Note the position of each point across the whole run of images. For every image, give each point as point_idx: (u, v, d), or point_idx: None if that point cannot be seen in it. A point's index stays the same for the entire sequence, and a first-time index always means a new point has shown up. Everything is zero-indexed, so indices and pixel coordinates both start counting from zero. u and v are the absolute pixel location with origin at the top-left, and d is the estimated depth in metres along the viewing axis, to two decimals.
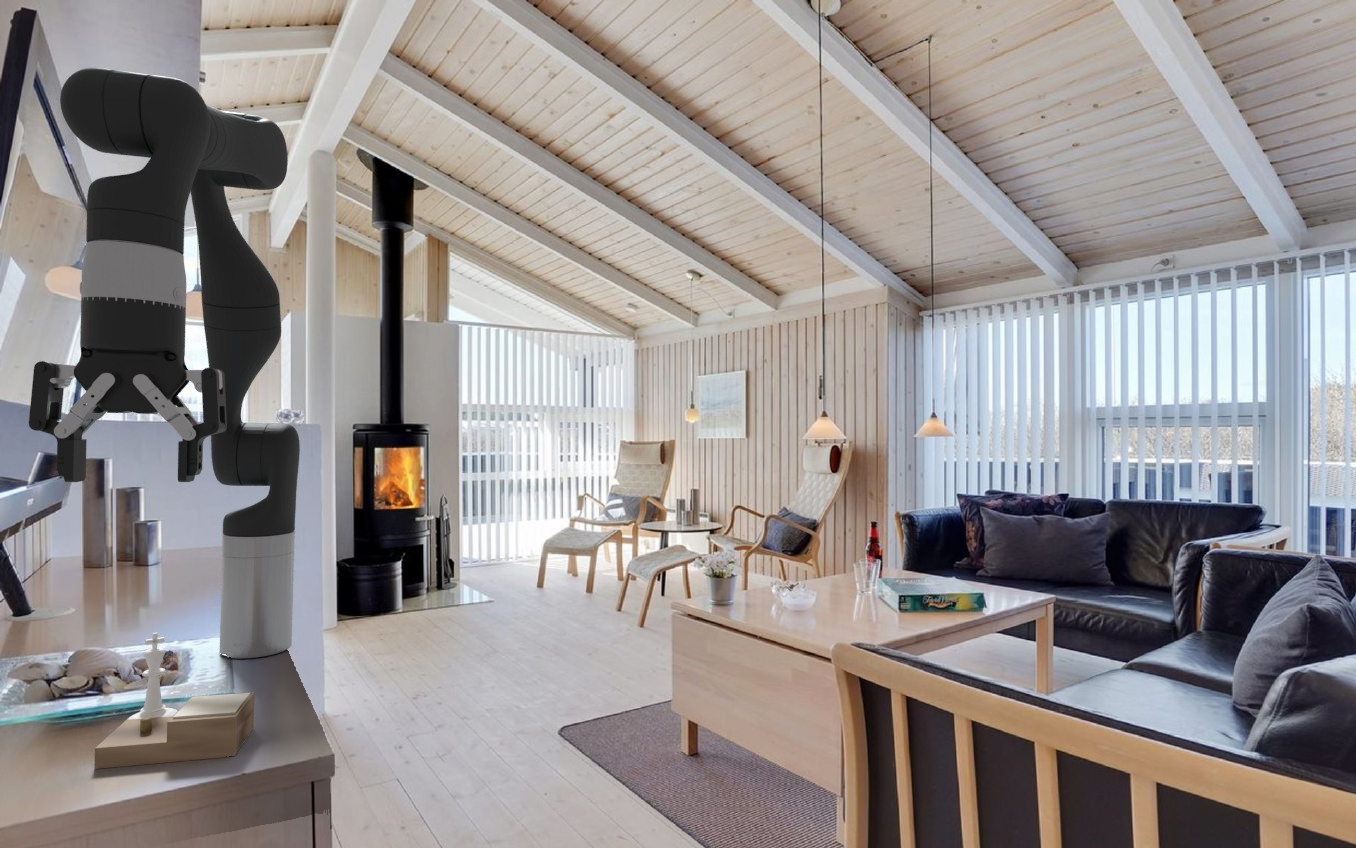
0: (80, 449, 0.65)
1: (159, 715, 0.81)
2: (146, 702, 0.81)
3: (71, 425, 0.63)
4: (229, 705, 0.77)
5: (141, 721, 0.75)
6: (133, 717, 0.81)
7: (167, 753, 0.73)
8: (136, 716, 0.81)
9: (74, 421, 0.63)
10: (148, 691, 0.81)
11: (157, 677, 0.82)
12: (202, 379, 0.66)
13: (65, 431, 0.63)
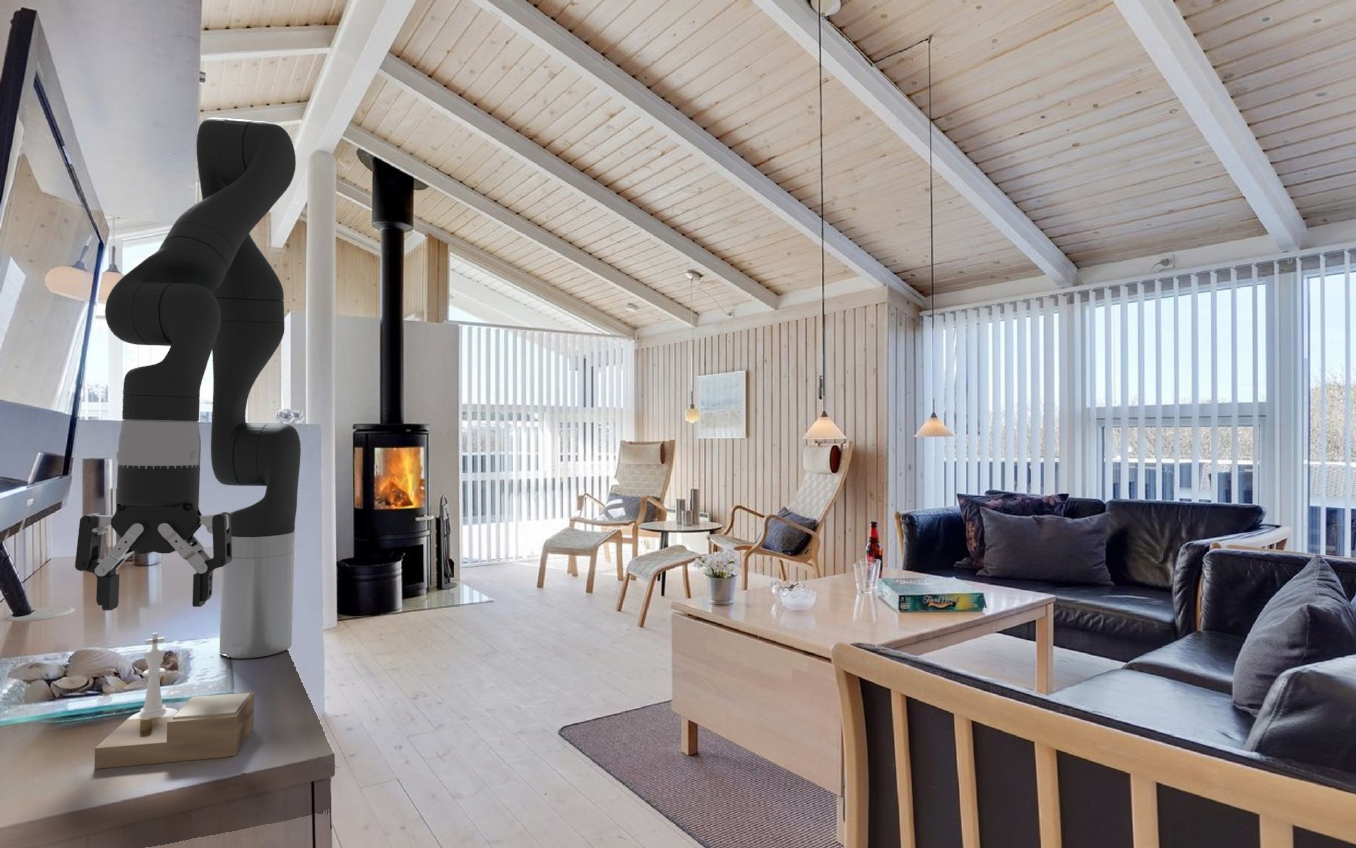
0: (115, 583, 0.81)
1: (159, 715, 0.81)
2: (146, 702, 0.81)
3: (108, 565, 0.79)
4: (229, 705, 0.77)
5: (141, 721, 0.75)
6: (133, 717, 0.81)
7: (167, 753, 0.73)
8: (136, 716, 0.81)
9: (110, 562, 0.79)
10: (148, 691, 0.81)
11: (157, 677, 0.82)
12: (213, 524, 0.82)
13: (103, 570, 0.79)
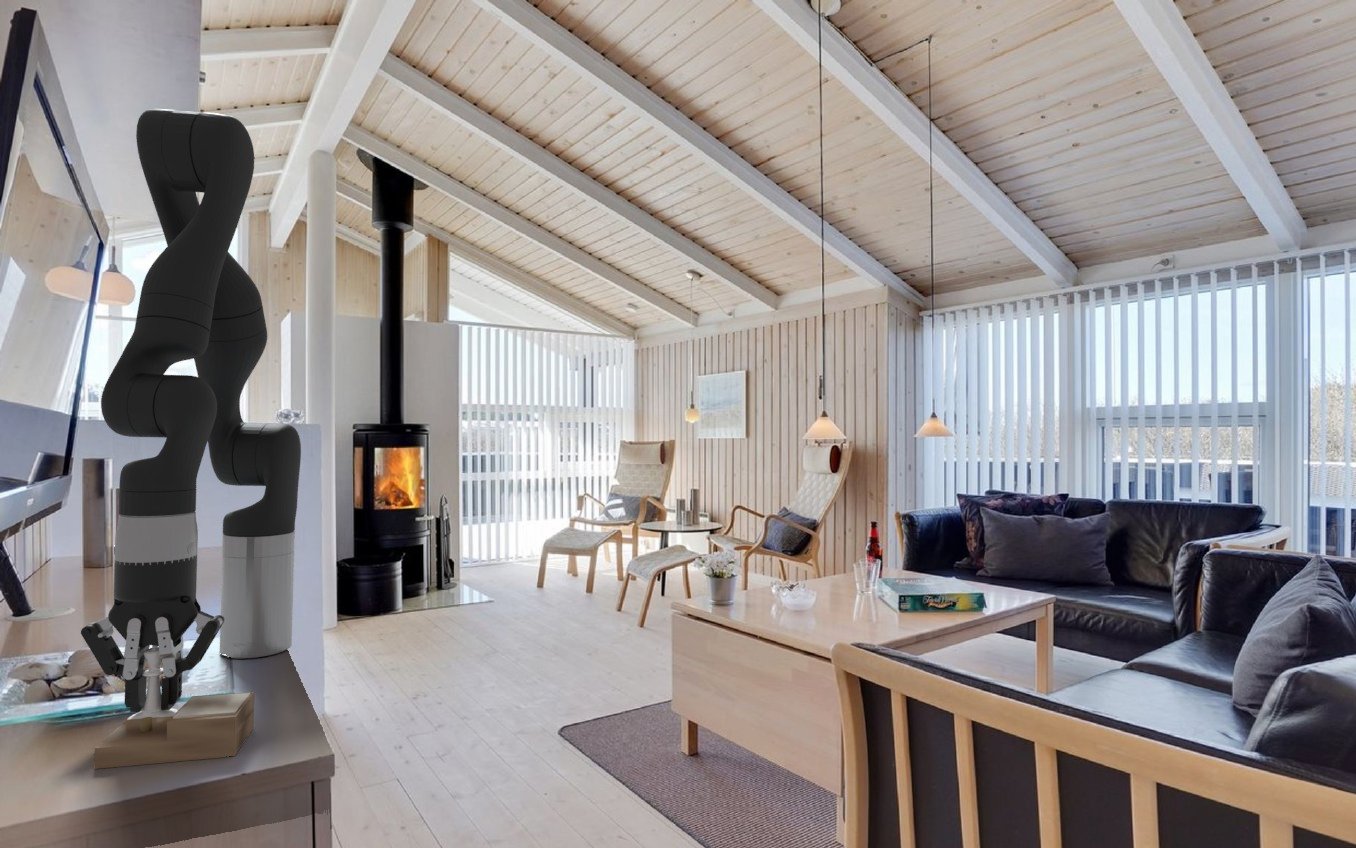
0: (142, 684, 0.81)
1: (159, 715, 0.81)
2: (146, 702, 0.81)
3: (136, 668, 0.80)
4: (229, 705, 0.77)
5: (141, 721, 0.75)
6: (133, 717, 0.81)
7: (167, 753, 0.73)
8: (136, 716, 0.81)
9: (132, 663, 0.80)
10: (148, 691, 0.81)
11: (157, 677, 0.82)
12: (204, 627, 0.82)
13: (131, 674, 0.80)
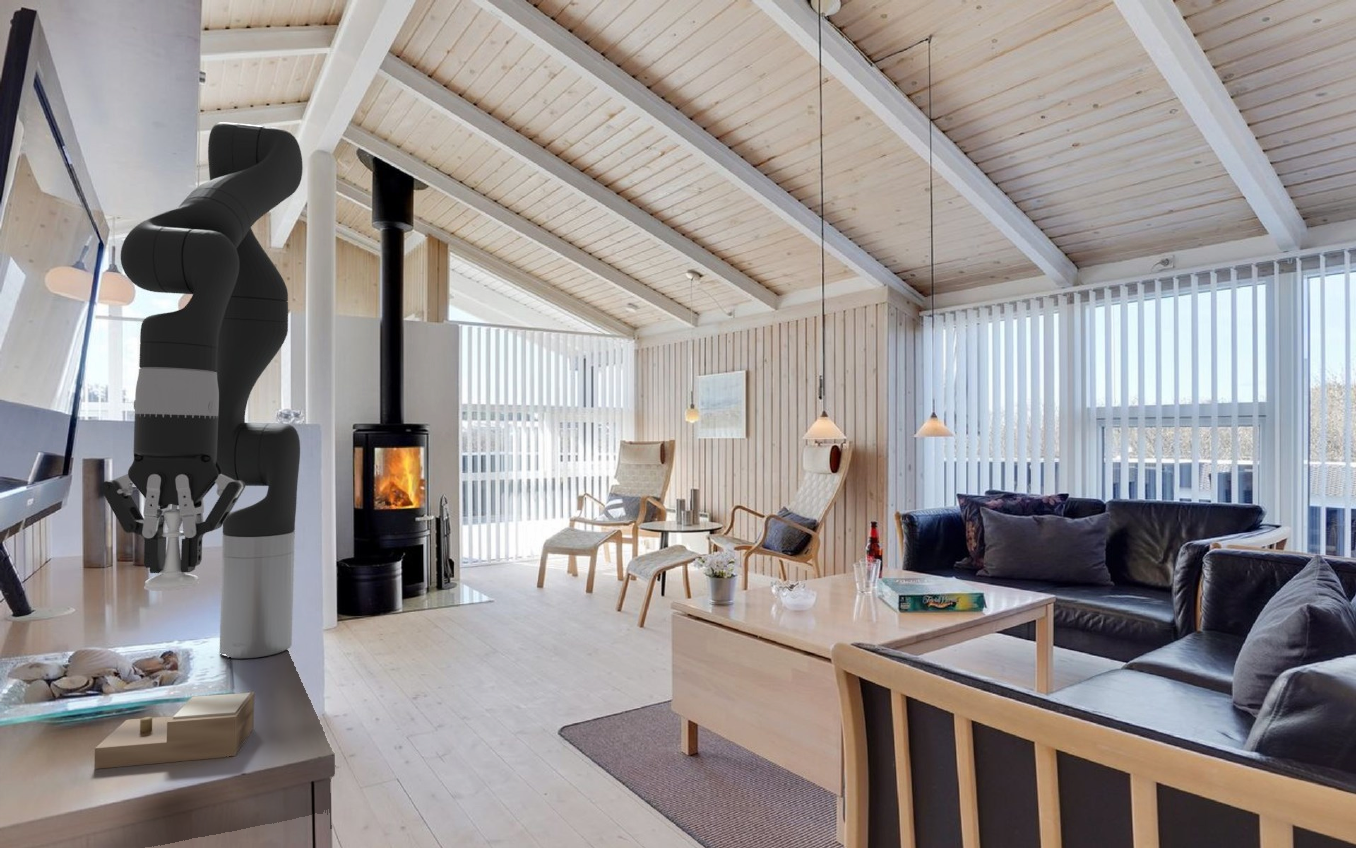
0: (162, 545, 0.79)
1: (178, 577, 0.79)
2: (165, 563, 0.79)
3: (156, 527, 0.78)
4: (229, 705, 0.77)
5: (141, 721, 0.75)
6: (152, 578, 0.78)
7: (167, 753, 0.73)
8: (155, 577, 0.79)
9: (152, 521, 0.78)
10: (168, 552, 0.79)
11: (177, 539, 0.80)
12: (225, 488, 0.80)
13: (151, 532, 0.78)
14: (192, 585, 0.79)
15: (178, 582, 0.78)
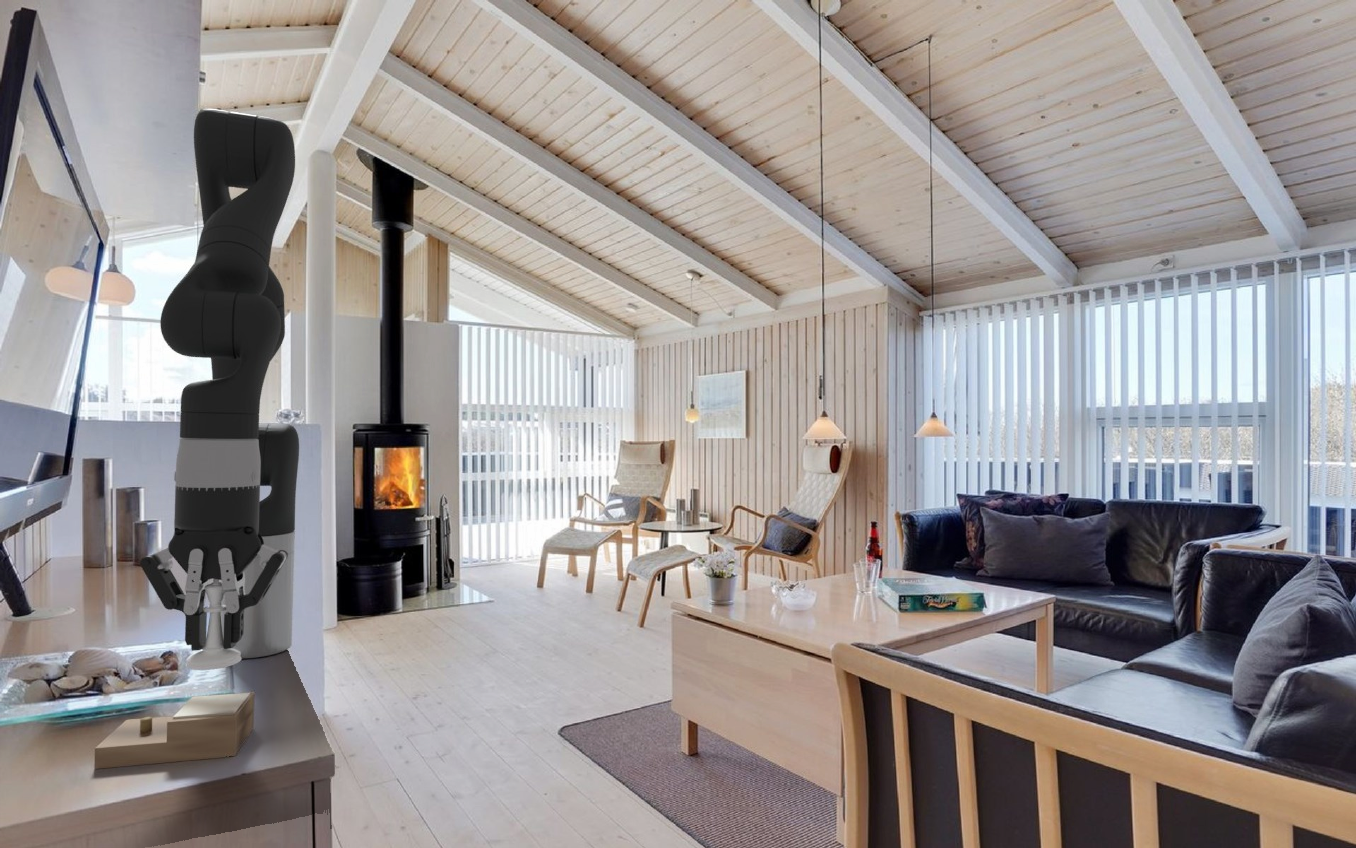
0: (203, 621, 0.76)
1: (221, 654, 0.76)
2: (207, 640, 0.76)
3: (197, 603, 0.75)
4: (229, 705, 0.77)
5: (141, 721, 0.75)
6: (194, 655, 0.75)
7: (167, 753, 0.73)
8: (197, 654, 0.76)
9: (193, 597, 0.75)
10: (209, 628, 0.76)
11: (219, 613, 0.77)
12: (269, 561, 0.77)
13: (193, 608, 0.75)
14: (235, 662, 0.76)
15: (221, 660, 0.75)
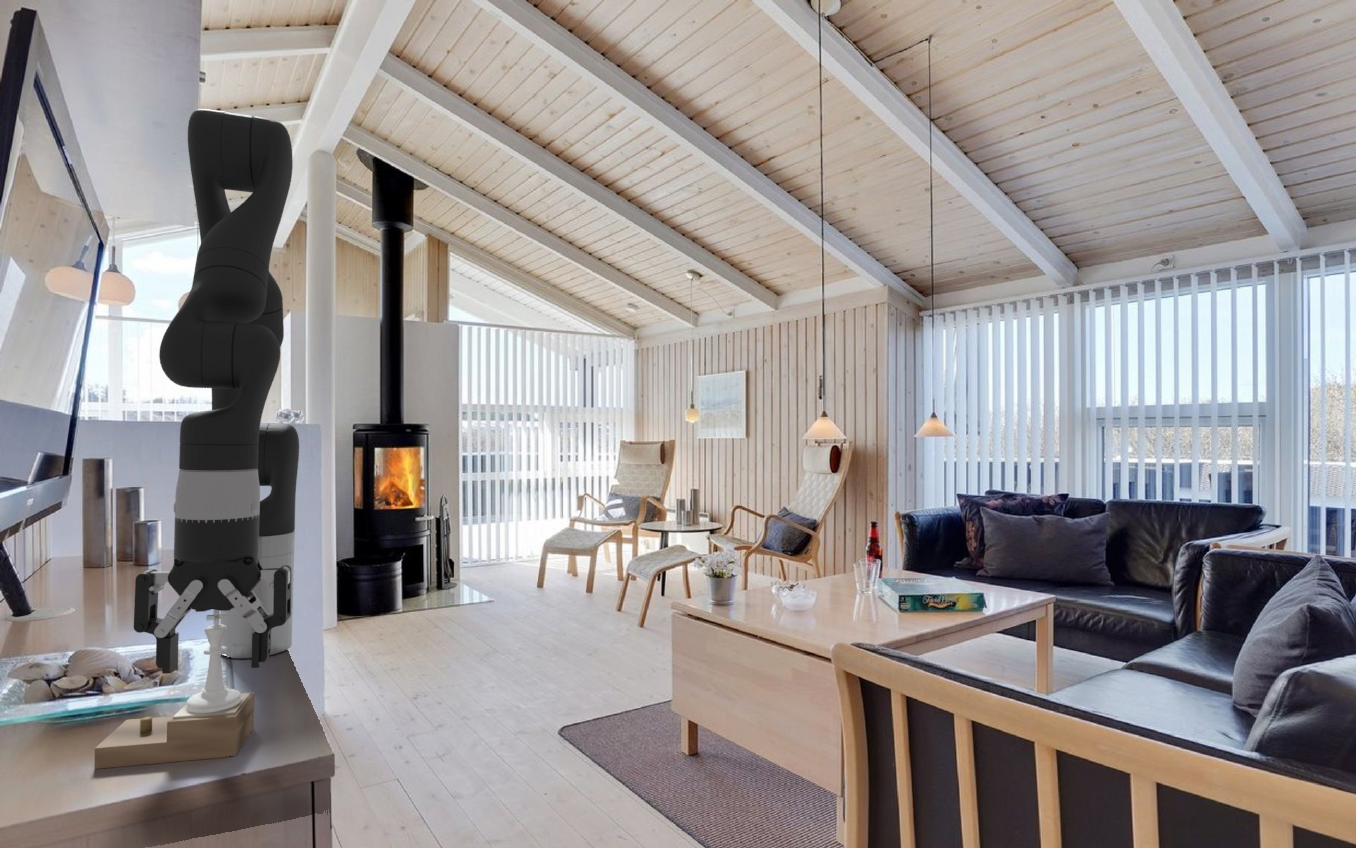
0: (174, 643, 0.76)
1: (221, 696, 0.76)
2: (208, 682, 0.76)
3: (168, 626, 0.75)
4: None
5: (141, 721, 0.75)
6: (194, 698, 0.76)
7: (167, 753, 0.73)
8: (197, 697, 0.76)
9: (170, 622, 0.75)
10: (210, 670, 0.76)
11: (219, 655, 0.77)
12: (274, 579, 0.77)
13: (163, 632, 0.74)
14: (235, 703, 0.77)
15: (221, 703, 0.75)
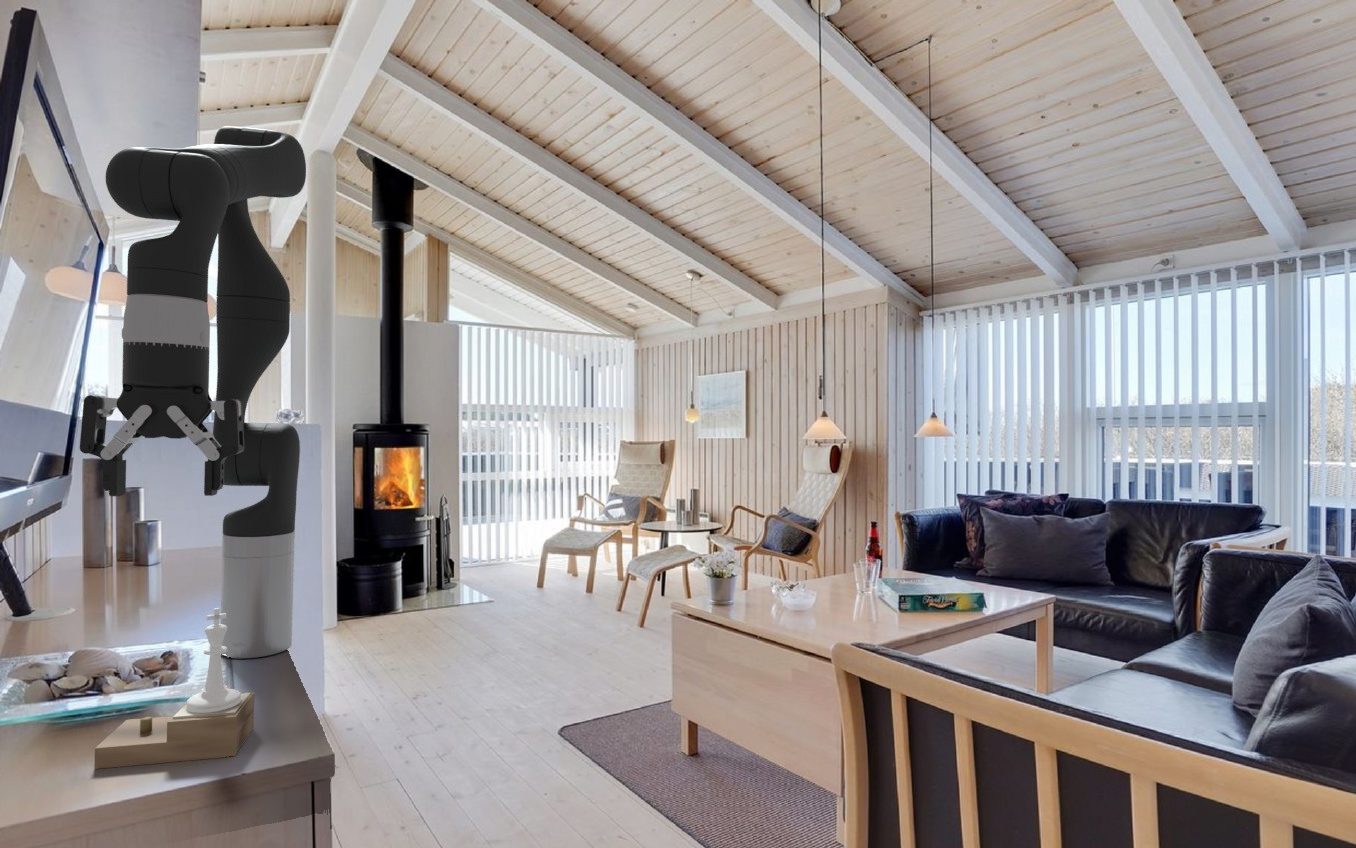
0: (121, 468, 0.77)
1: (221, 696, 0.76)
2: (208, 682, 0.76)
3: (115, 449, 0.75)
4: None
5: (141, 721, 0.75)
6: (194, 698, 0.76)
7: (167, 753, 0.73)
8: (197, 697, 0.76)
9: (117, 445, 0.75)
10: (210, 670, 0.76)
11: (219, 655, 0.77)
12: (224, 409, 0.78)
13: (110, 454, 0.75)
14: (235, 703, 0.77)
15: (221, 703, 0.75)
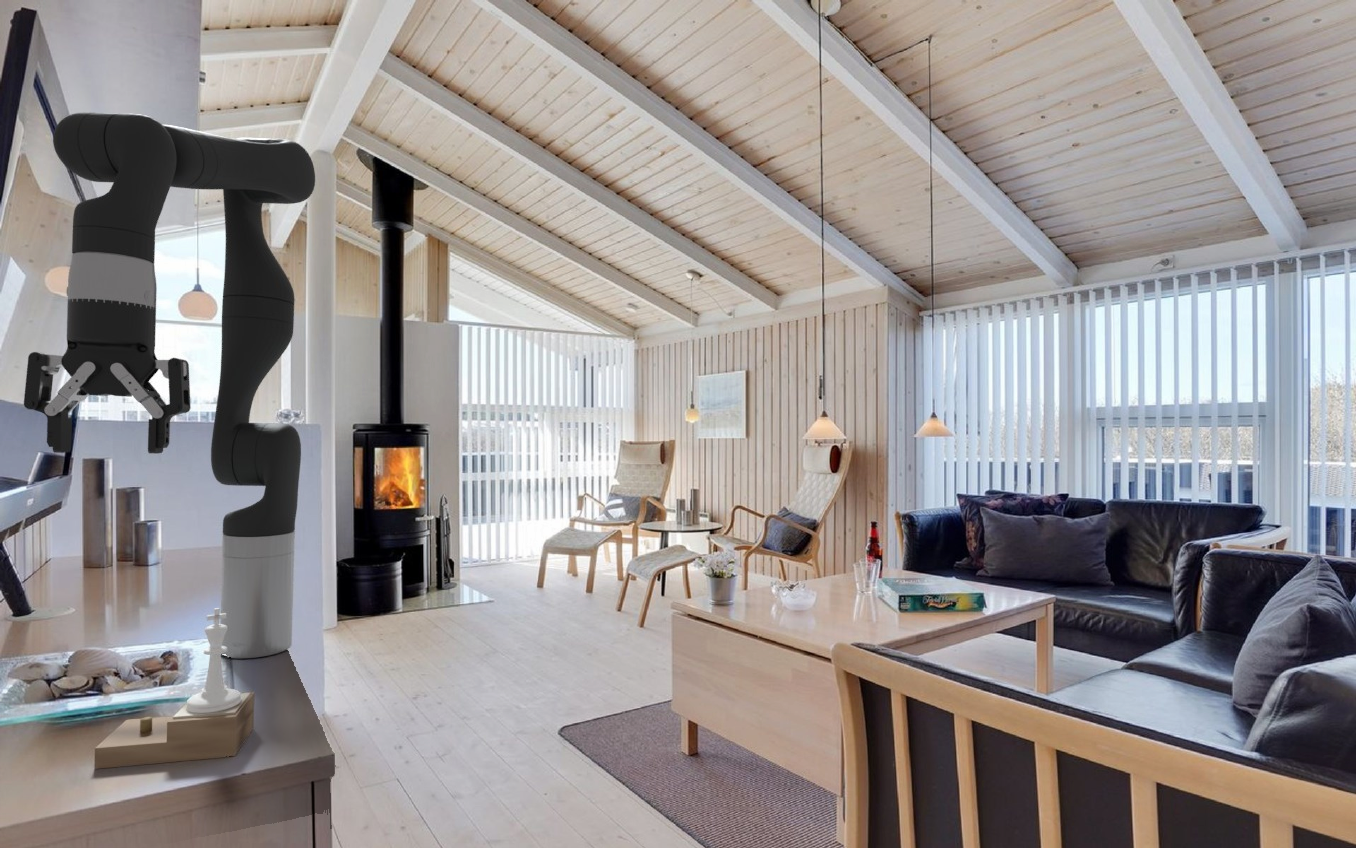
0: (66, 425, 0.78)
1: (221, 696, 0.76)
2: (208, 682, 0.76)
3: (59, 405, 0.76)
4: None
5: (141, 721, 0.75)
6: (194, 698, 0.76)
7: (167, 753, 0.73)
8: (197, 697, 0.76)
9: (61, 402, 0.76)
10: (210, 670, 0.76)
11: (219, 655, 0.77)
12: (169, 367, 0.79)
13: (54, 410, 0.76)
14: (235, 703, 0.77)
15: (221, 703, 0.75)
